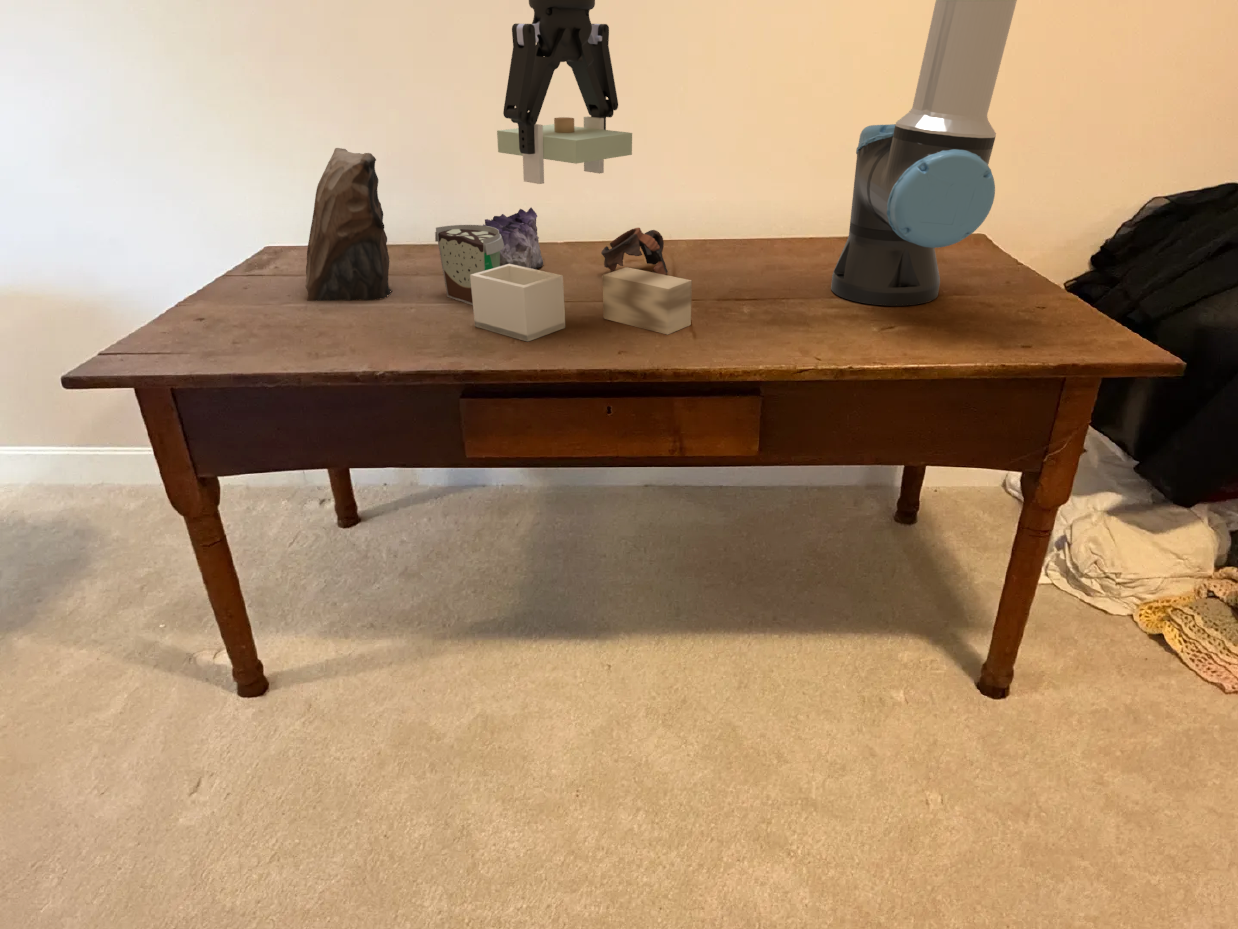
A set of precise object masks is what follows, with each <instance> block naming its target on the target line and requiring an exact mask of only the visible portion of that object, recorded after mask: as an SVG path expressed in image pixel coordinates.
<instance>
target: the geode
mask: <svg viewBox="0 0 1238 929" xmlns="http://www.w3.org/2000/svg"><path fill="white" fill-rule="evenodd" d="M537 218H538V215H537V212H535V210H534V209H533V208H532V207H530V208H529V209H527V211H525V210H524V209H522V208H519V210H518V211H517V212H516V213H515V212H514V214H511V215H509V216H506V215H505V214H504V213H502V214H501V215H493V218H492V219H488V218H487V219H484V223H483V224H482V225H483V226H490V227H494V228H496V229H498V230H499V234H501V236H502V239H503V243H504V248H503V249H502V250H500V266H503V265H506V264H513V265H517V266H522V267H527V268H531V269H536V270H538V268H541V267H543V265H544V259H543V256H542V254H541V253H542V252H541V248H540V246H541V245H540V240H539V239H540V237H539V235H538V227H537Z"/></svg>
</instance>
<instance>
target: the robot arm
mask: <svg viewBox="0 0 1238 929" xmlns="http://www.w3.org/2000/svg"><path fill="white" fill-rule="evenodd" d="M1017 2H1018V0H935V3H934V8H933V12H932V17H931V21H930V26H929V29H928V30H929V31H928V33H927V34H928V35H927V40H926V44H925V48H924V53H923V58H922V61H921V66H920V71H919V76H918V80H917V84H916V85H917V86H916V88H915V89H916V90H915V93H914V98H913V103H912V107H911V108H910V110H909V111H908V112H906V114H905V115H903V116H902V117H901V118H900V119H898V120H897V121H896V122H895V124H893V123H892V124H872V125H868V126H866V127H864V128H863V129H862V131H861V132H860V135H859V140H858V145H857V147H856V152H855V153H856V162H855V169H854V170H855V171H854V181H853V190H852V191H853V192H852V200H851V201H852V202H851V209H850V210H851V211H850V219H849V220H850V221H849V229H848V230H849V231H848V237H847V240H846V242H845V243H844V247H843V249H842V251H841V254H840V256H839V257H838V259H837V262H836V264H835V267H834V269H833V272H832V277H831V284H830V290H831V291H832V292H833V293H834V294H835V295H836V296H838V297H841V298H843V299H846V300H849V301H852V302H856V303H862V304H867V305H877V306H890V307H891V306H892V307H893V306H895V307H896V306H898V307H900V306H901V307H902V306H914V305H920V304H924V303H929V302H932V301H933V300H935V299H937V297H938V296H939V292H940V291H939V290H940V284H941V277H940V272H939V266H938V261H937V254H936V249H935V248H937V249H938V248H944V247H949V246H952V245H955V244H958V243H959V242H961V241H963V240H964V239H966V238H967V237H970V236H971V235H972V234H973V233H974V232H975V231H977V230H978V229H979V227H981V225H982V224H983V223H984V222H985V220H986V218H987V217H988V215H989V214H990V211H991V209H992V207H993V204H994V201H995V194H996V185H995V184H996V183H995V178H994V175H993V172H992V169H991V168H990V166H989V163H990V159H991V156H992V152H993V148H994V145H995V141H996V136H997V133H996V131H995V129H994V128H993V126H992V125H991V123H990V122H989V118H988V113H989V111H990V110H989V109H990V106H991V101H992V98H993V95H994V90H995V87H996V83H997V79H998V76H999V72H1000V66H1001V63H1002V59H1003V55H1004V51H1005V47H1006V44H1007V39H1008V37H1009V32H1010V29H1011V25H1012V21H1013V16H1014V12H1015V9H1016V4H1017ZM528 5H529V7H530V8H531V9H533V18H532V19H533V20H532V22H531V23H514V24H513V25H512V27H511V35H512V38H511V39H512V53H511V60H510V65H509V73H508V77H507V78H508V80H507V84H506V86H507V87H506V92H505V99H504V106H503V113H502V114H503V117H504V118H505V119H509V120H510V121H511V123H514V124H517V126H518V127H517V128H518V129H519V149H520V152H521V153H523V156H522V167H523V168H522V169H523V171H522V172H523V175H522V176H523V182H525V183H530V184H537V185H542V184H545V168H544V167H545V166H544V165H545V164H544V163H545V162H544V161H545V159H544V158H543V124H537V122H538V119H539V116H540V113H541V110H542V108H543V104H544V101H545V99H546V96H547V93H548V90H549V87H550V84H551V82H552V78H553V76H554V72H555V71H556V70H557V69H558V68H559V66H560V64H561V63H566V65H567V66H568V67H570V69H571V70H572V74H573V76H574V78H575V81H576V84H577V85H578V89H579V91H580V94H581V97H582V99H583V103H584V104H585V108H586V110H587V113H588V114H589V116H583V127H584V128H592V129H602V130H607V118H612V117H613V116H614V111H617V110H618V109H619V99H618V94H617V89H616V82H615V77H614V76H615V75H614V72H613V64H612V59H611V54H610V47H609V46H610V45H609V41H610V28H609V25H608V24H607V23H592V22H591V18H590V10H593V9H594V8H595V5H596V0H528ZM604 165H605V159H602V160H596V161H590V162H583V171H584V172H587V173H594V174H605V173H604V172H605V166H604Z"/></svg>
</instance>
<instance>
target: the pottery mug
mask: <svg viewBox="0 0 1238 929" xmlns="http://www.w3.org/2000/svg"><path fill="white" fill-rule="evenodd" d="M664 241H665V240H664V237H663V235H662V234H661V233H660V232H659V231H658V230H655V229H651V230H648V231H646V232H645V233H644V232H643V231H642V228H640V227H635V228H631V229H628V230H627V231H626V232H623V233H622V234H620V235H619V236H618V237H616V238H615V239H613V240H612V241H611V242H609V246H610V247H611V248H609V246H607V245H606V246H605V247H604V248H603V249H602V250H601V252H600V253H601V255H602V257H603V258H604V260H603V266H604V268H607V269H609V270H610V272H613V271H616V268H617V266H618V265H619V266H621V267H623V266H624V257H625V254H626V255H628V256H635V257H641V256H643V255H644V257H645V262H646V264H648V265H655V266H654V267H653V273H658V274H663V275H667V274H668V273H669V272H668V269H667V265H666V262H665V260H664V256H663V250H664V246H665V245H664V243H665V242H664Z"/></svg>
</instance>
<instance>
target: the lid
mask: <svg viewBox="0 0 1238 929" xmlns="http://www.w3.org/2000/svg"><path fill="white" fill-rule="evenodd" d="M553 120H554V123H553V124H544V125H543V124H542V125H543V158H544V160H548V161H553V162H554V161H555V162H562V163H568V164H575V165H577V164H584V162H590V161H596V160H602V159H604V160H607V159H614V158H620V157H626V156H631V155H633V132H629V131H628V132H627V131H619V130H618V131H617V130H610V129H606V130H602V129H592V128H584V126H575V118H574V117H569V116H568V117H565V116H563V117H562V116H561V117H560V116H559V117H554V118H553ZM496 136H497V152H498V153H502V154H508V155H513V156H520V157H521V156H522V157H523V153H521V152H520V149H519V129H518V127H517V128H509V129H500V130H498V129H497V130H496Z"/></svg>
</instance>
